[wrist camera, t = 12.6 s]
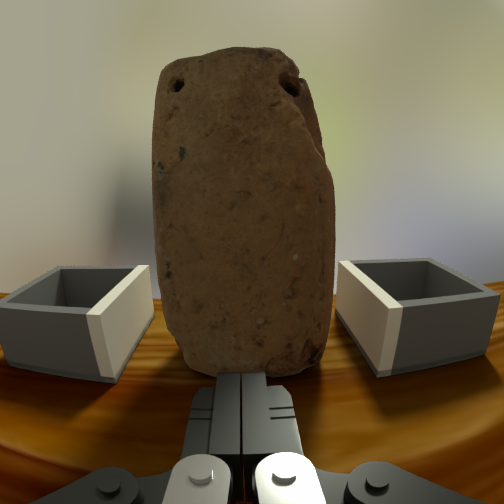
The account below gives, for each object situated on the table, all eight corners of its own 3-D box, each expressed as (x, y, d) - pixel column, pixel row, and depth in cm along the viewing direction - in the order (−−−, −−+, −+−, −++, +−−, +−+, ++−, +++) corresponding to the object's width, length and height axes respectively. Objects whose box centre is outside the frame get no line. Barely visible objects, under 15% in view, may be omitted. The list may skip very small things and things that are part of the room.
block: (160, 372, 20) (141, 58, 15) (198, 326, 27) (189, 86, 22) (325, 393, 18) (333, 35, 13) (326, 336, 25) (330, 77, 20)
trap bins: (423, 304, 30) (429, 257, 28) (485, 354, 19) (500, 294, 18) (66, 312, 29) (57, 266, 28) (8, 365, 18) (-11, 306, 17)
